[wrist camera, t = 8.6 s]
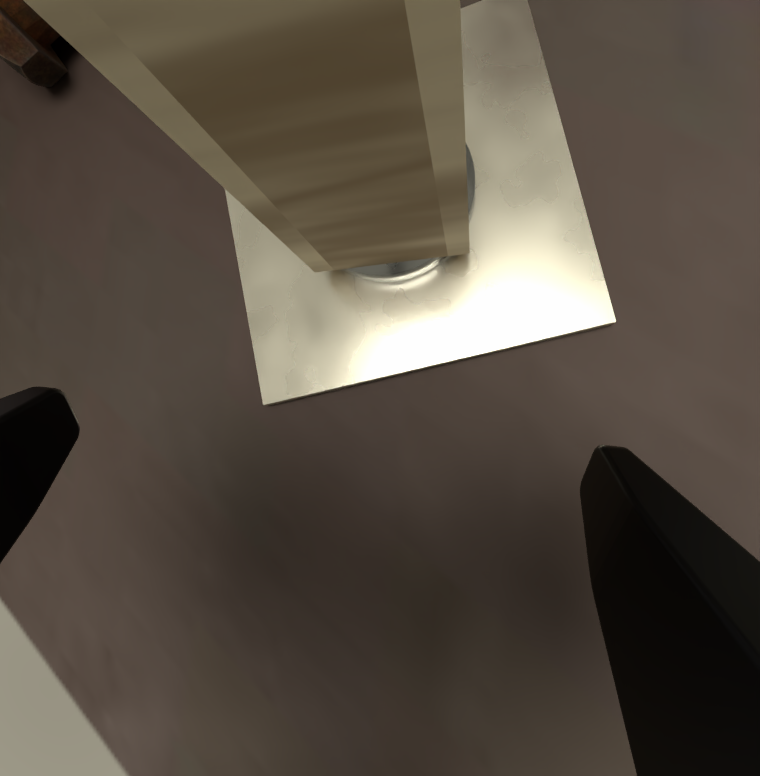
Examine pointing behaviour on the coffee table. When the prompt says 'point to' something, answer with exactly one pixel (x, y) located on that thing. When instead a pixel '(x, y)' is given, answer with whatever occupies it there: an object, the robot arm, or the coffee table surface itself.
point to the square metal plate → (450, 273)
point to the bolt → (29, 43)
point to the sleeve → (303, 111)
